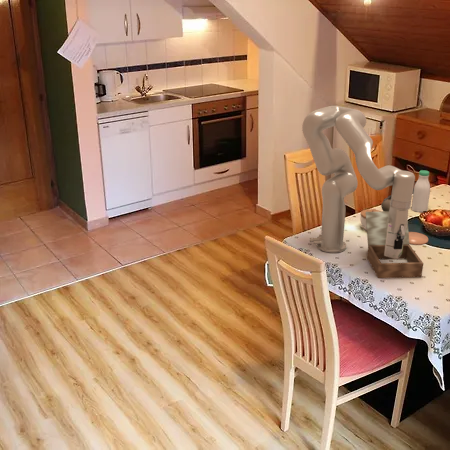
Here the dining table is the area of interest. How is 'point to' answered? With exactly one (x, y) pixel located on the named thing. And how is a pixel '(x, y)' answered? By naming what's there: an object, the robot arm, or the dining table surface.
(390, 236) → the syrup box
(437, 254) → the dining table surface
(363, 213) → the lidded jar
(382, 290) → the dining table surface
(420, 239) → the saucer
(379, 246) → the cold frame
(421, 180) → the milk bottle
